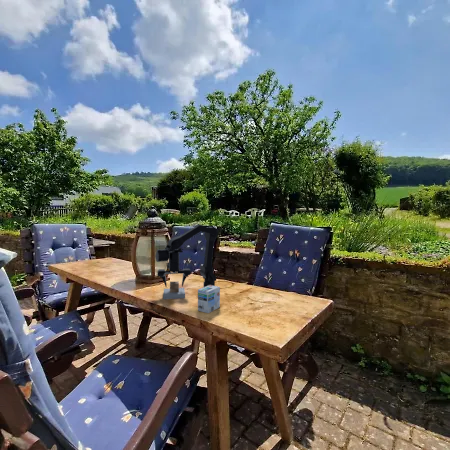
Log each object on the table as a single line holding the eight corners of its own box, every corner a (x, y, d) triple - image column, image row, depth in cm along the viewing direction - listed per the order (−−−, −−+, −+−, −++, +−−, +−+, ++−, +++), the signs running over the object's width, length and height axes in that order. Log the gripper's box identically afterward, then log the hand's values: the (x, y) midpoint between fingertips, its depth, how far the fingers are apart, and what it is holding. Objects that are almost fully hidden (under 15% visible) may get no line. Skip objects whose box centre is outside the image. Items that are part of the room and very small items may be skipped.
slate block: (183, 292, 160) (184, 287, 159) (185, 298, 148) (185, 293, 148) (163, 293, 157) (163, 288, 157) (163, 300, 145) (163, 294, 145)
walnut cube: (178, 289, 155) (178, 281, 155) (178, 292, 150) (178, 283, 150) (170, 290, 154) (170, 281, 154) (169, 292, 149) (169, 284, 149)
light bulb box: (208, 313, 125) (208, 291, 125) (197, 310, 129) (197, 289, 128) (220, 307, 134) (220, 286, 134) (209, 304, 138) (209, 284, 137)
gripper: (189, 257, 161) (189, 282, 162) (158, 258, 158) (158, 283, 158) (190, 260, 150) (190, 287, 151) (157, 261, 147) (157, 289, 147)
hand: (174, 286), depth 152 cm, fingers open, 9 cm apart
